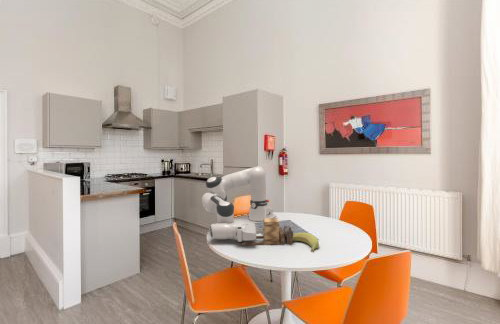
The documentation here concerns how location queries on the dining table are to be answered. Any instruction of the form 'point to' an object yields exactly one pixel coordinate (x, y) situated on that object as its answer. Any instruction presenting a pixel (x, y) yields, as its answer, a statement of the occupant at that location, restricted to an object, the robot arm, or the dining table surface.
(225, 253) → the dining table surface
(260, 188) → the robot arm
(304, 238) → the banana
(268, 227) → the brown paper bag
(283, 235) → the wooden rack
